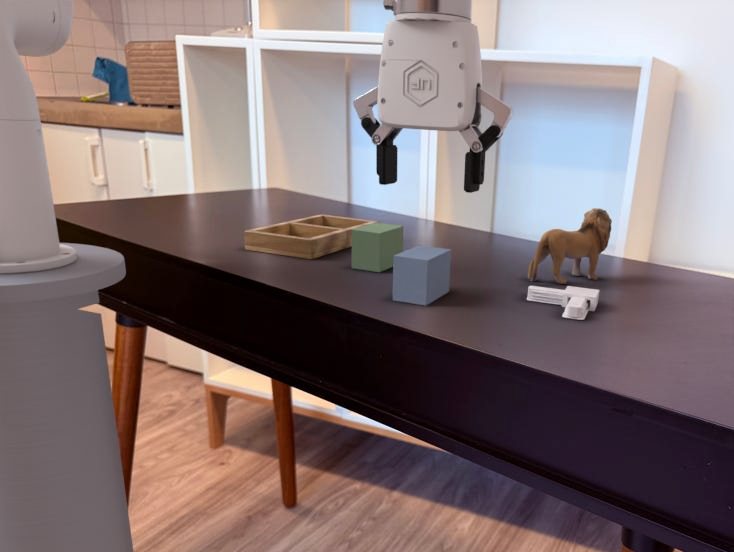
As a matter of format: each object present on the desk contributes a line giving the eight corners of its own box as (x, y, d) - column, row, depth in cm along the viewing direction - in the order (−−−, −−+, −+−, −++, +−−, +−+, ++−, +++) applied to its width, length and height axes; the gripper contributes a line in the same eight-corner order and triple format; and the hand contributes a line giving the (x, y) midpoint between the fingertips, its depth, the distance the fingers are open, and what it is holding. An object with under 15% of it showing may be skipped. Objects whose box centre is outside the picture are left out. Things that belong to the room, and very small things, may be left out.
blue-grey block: (426, 305, 72) (428, 260, 70) (392, 300, 73) (393, 255, 71) (449, 291, 78) (451, 249, 76) (417, 286, 79) (419, 245, 77)
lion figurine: (583, 268, 95) (591, 205, 92) (614, 276, 92) (623, 210, 88) (515, 281, 85) (521, 210, 82) (548, 290, 81) (555, 216, 78)
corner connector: (516, 311, 72) (517, 296, 71) (530, 294, 79) (532, 281, 79) (589, 321, 70) (591, 306, 70) (597, 303, 77) (599, 289, 77)
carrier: (311, 259, 89) (311, 240, 88) (245, 249, 92) (244, 230, 91) (379, 237, 107) (379, 221, 106) (321, 230, 109) (321, 214, 109)
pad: (379, 272, 84) (380, 233, 83) (351, 268, 85) (351, 229, 84) (402, 262, 91) (403, 225, 89) (376, 258, 92) (376, 222, 90)
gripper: (336, 1, 64) (339, 183, 70) (507, 2, 59) (496, 198, 65) (371, 13, 71) (372, 178, 77) (528, 15, 66) (516, 191, 72)
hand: (429, 187), depth 71 cm, fingers open, 9 cm apart
